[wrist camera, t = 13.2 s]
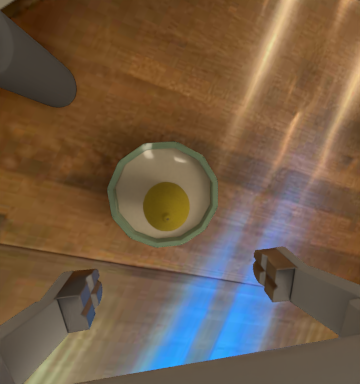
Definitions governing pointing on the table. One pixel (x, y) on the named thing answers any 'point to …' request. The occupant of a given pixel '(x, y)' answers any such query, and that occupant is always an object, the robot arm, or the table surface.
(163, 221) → the lemon
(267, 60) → the table surface
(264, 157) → the table surface
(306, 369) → the robot arm
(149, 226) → the bowl
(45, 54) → the bottle
